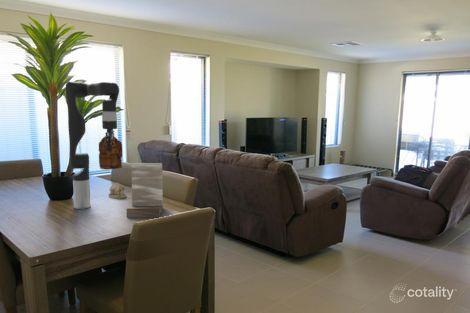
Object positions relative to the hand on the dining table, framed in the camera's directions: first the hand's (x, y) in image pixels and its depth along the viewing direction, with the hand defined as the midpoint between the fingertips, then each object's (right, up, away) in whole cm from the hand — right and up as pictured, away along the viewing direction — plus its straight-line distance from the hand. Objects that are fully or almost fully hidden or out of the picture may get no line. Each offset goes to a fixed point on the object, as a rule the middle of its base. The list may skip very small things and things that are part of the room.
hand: (110, 150), depth 196 cm
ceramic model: (-13, -31, +52) cm, 62 cm away
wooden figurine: (0, -10, +1) cm, 10 cm away
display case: (+15, -36, +16) cm, 42 cm away
